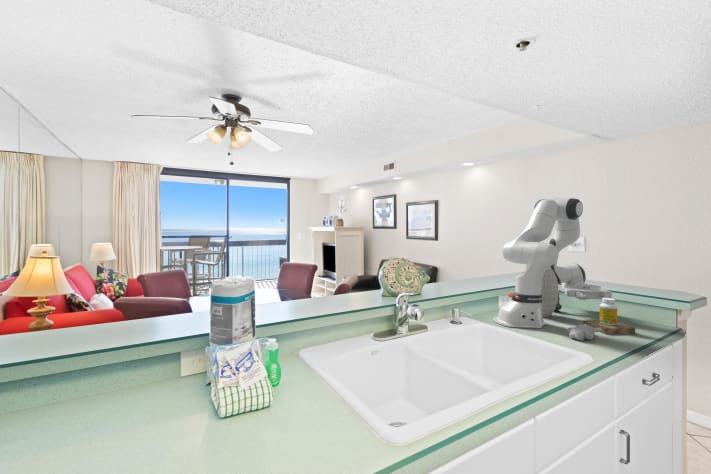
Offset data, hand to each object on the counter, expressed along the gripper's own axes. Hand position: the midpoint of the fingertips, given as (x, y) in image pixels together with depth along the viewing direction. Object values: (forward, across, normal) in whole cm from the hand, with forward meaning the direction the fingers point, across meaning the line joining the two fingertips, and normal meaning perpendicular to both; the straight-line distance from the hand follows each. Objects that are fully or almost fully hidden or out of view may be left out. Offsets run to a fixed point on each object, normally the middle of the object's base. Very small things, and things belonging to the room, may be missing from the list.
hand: (594, 296), depth 158 cm
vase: (-7, -20, +13) cm, 25 cm away
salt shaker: (-17, -11, +13) cm, 24 cm away
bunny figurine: (+26, -16, +13) cm, 33 cm away
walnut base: (+12, 0, +13) cm, 17 cm away
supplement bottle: (+11, 0, +10) cm, 15 cm away
